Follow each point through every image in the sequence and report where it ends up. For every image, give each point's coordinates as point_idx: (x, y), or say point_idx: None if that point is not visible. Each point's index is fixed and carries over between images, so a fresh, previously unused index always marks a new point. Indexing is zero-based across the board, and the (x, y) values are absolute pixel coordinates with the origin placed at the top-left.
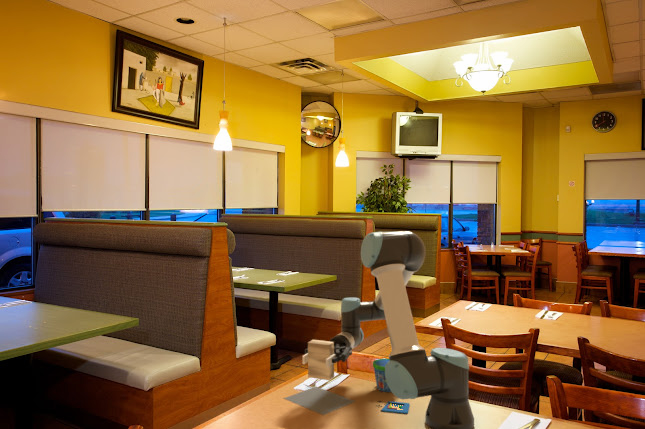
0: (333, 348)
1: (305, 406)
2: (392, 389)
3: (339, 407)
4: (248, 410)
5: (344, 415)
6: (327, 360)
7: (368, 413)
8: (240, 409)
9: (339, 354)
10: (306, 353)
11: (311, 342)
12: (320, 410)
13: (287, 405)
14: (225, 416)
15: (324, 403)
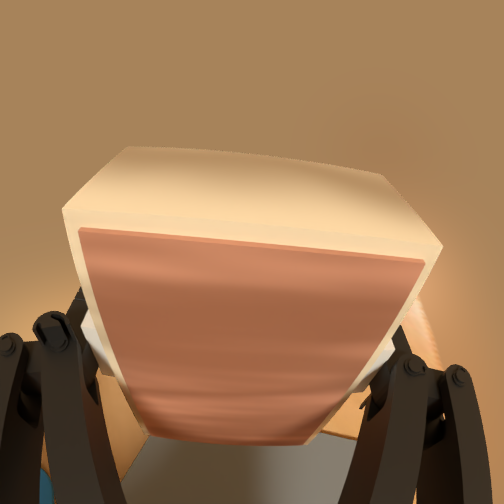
0: (87, 277)
1: None
2: None
3: (140, 458)
4: (409, 344)
5: (112, 413)
6: None
7: None
8: (426, 340)
9: (43, 341)
10: (399, 329)
11: (354, 174)
12: None
13: (349, 421)
14: (416, 303)
15: (217, 479)
